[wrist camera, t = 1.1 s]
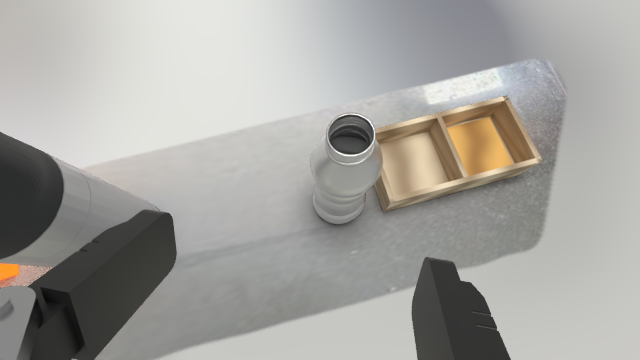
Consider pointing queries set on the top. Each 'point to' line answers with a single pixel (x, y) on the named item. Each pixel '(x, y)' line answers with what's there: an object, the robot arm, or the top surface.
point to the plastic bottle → (345, 167)
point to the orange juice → (8, 270)
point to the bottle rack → (452, 152)
